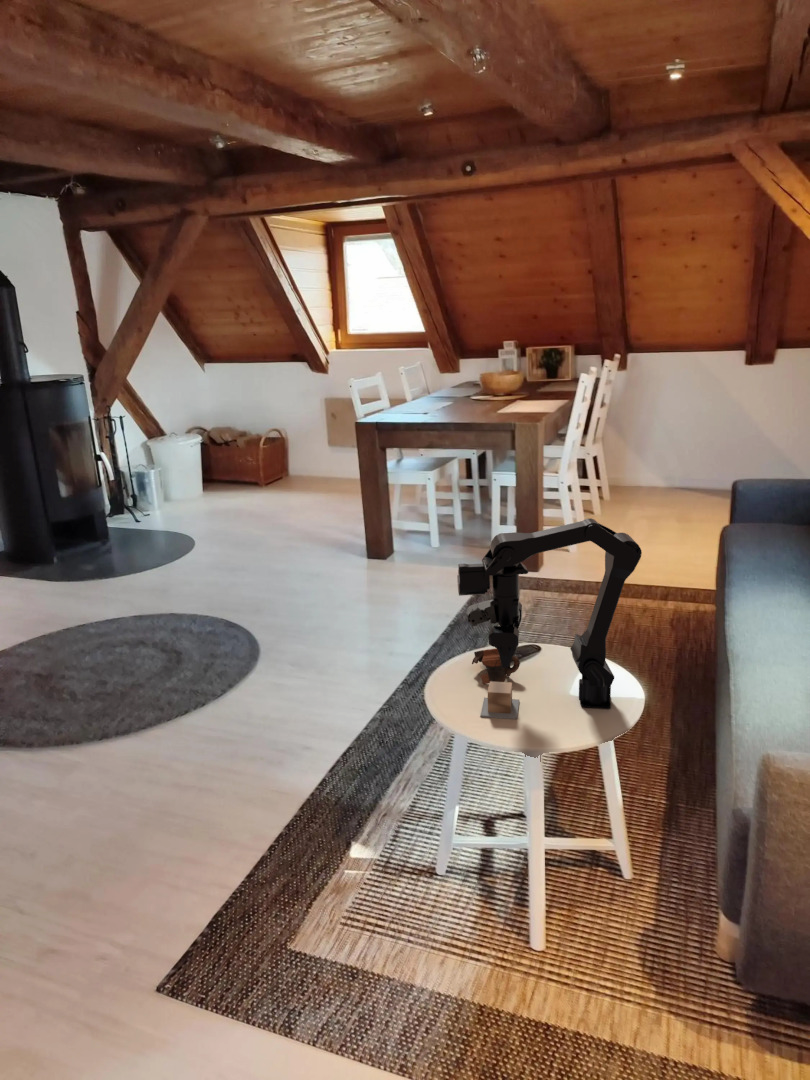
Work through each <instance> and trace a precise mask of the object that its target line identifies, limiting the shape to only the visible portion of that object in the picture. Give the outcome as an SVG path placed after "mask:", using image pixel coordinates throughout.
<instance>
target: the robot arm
mask: <svg viewBox="0 0 810 1080" xmlns="http://www.w3.org/2000/svg"><path fill="white" fill-rule="evenodd" d="M587 542H591V543H594V544H595V545H596V546H598V547H599V548H601V549H602V550H603V551H605V553H604V575H603V577H602V581H601V584H600V587H599V590H598V593H597V596H596V599H595V603H594V605H593V608H592V611H591V615H590V618H589V621H588V625H587V627H586V630H585V631H584V632H583V633H582V634H581V635H580V634H578V633H575V635H574V640H573V644H572V645H571V647H570V648H569V649H570V651H571V655H572V659H573V661H574V663H575V665H576V667H577V670H578V671H579V674H581V678H580V679H579V680H578V700H579V701H580V707H582V708H592V709H593V708H595V709H607V710H608V709H609V710H610V709H612V703H611V702H612V700H611V696H612V695H611V693H612V692H611V691H612V685H613V682H614V680H615V675H614V673H613V672H612V670H611V668H610V667H609V664H608V663H607V661H606V657H607V646H606V645H607V643H606V641H607V638H608V637H607V636H608V634H609V631H610V627H611V624H612V622H613V619H614V614H615V612H616V609H617V605H618V603H619V601H620V598H621V594H622V591H623V588H624V586H625V582H626V580H627V579H628V578H629V577H630V576H631V574H632V573H633V572H635V569H636V568H637V566H638V564H639V561H640V560H641V558H642V553H643V552H642V549H641V547H640V545H639V544H638V543H637V542H636V541H635V539H634V538H633V537H631V536H630V534H628V533H625V532H616V531H614V530H612V529H611V528H609V527H607V526H605V525H603V524H601V523H600V522H598V521H597V520H595V519H594V518H585V519H583V520H582V521H576V522H573V523H568V524H564V525H559V526H555V527H550V528H547V529H543V530H537V531H535V532H528V533H527V532H516V531H515V532H504V533H503V532H501V533H499V534H496V535H495V536H494V537H493V538H492V540H491V542H490V548H489V549H488V551H486V553H485V555H484V556H483V558H482V559H481V563H469V564H468V563H459V564H458V565H457V566H458V568H457V572H458V573H457V577H456V579H457V591H458V593H457V594H458V596H477V595H478V596H480V595H485V594H486V593H488V590H490V588H492V591H491V592H492V594H491V599H489V600H484V601H481V602H478V603H475V604H471V605H469V606H467V609H466V612H465V614H466V617H467V622H468V623H470V626H471V627H476V626H477V625H479V624H482V623H486V622H488V621H490V622H489V623H490V624H492V625H493V624H497V625H494V626H492V627H491V628H490V629H489V633H488V645H490V646H491V647H493V648H494V649H496V648H497V650H498V653H499V656H500V659H501V663H502V666H503V668H508V666H509V664H510V665H511V663H512V661H511V659H512V657H513V655H515V653H516V650H517V648H518V647H519V644H520V630H519V627H520V625H521V622H522V616H523V604H522V603H521V602H520V595H521V594H520V581H519V580H520V577H519V576H520V575H528V574H529V571H528V569H527V566H526V565H525V564H523V563H522V562H525V561H526V560H528V559H529V558H531V557H532V556H535V555H537V554H540V553H541V554H542V553H544V552H549V551H552V550H557V549H561V548H566V547H570V546H574V545H578V544H583V543H587ZM490 576H491V578H490ZM490 579H491V580H490ZM490 581H491V582H492V583H491V582H490ZM510 662H511V663H510Z"/></svg>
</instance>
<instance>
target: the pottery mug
mask: <svg viewBox="0 0 810 1080" xmlns="http://www.w3.org/2000/svg"><path fill="white" fill-rule="evenodd" d="M473 653H474V658H473V659H472V662H471V664H472V665H474V664H478V663H482V665H483V666H485V668H486V671H487V673H485V674H481V675H480V679H481V683H482V685H483V684H484V685H486V684H487V685H489V683H490V681H493V682H506V677H508V678H509V677H511V674H514V673H516V672H517V671H518V669H519V667H520V665H521V662H520V659H519V657H518V656H517V655H515V654H514V655H513V657H512V659H511V662H510V664H509V666H508V668H503V666H502V663H501V659H500V656H499V653H498V650H497V648H487V649H483V650H482V649H481V650H477V651H474V652H473ZM512 661H513V665H512V667H511V663H512Z"/></svg>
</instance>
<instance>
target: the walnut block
mask: <svg viewBox="0 0 810 1080" xmlns="http://www.w3.org/2000/svg"><path fill="white" fill-rule="evenodd" d="M487 689H488V690H487V698H488V712H493V713H508V714H511V707H512V699H513V682H510V681H509V682H507V681H505V682H493V681H490V683H488V687H487Z"/></svg>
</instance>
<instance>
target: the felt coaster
mask: <svg viewBox="0 0 810 1080" xmlns="http://www.w3.org/2000/svg"><path fill="white" fill-rule="evenodd" d="M519 706H520V699H515V698H512V707H511V714H508V713H493V712H488V697H485V696H484V697H483V701H482V706H481V709H480V710H481V711H480V718H492V719H493V718H494V719H504V720H507V719H508V720H518V716H519V715H518V714H519V708H520V707H519Z"/></svg>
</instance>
